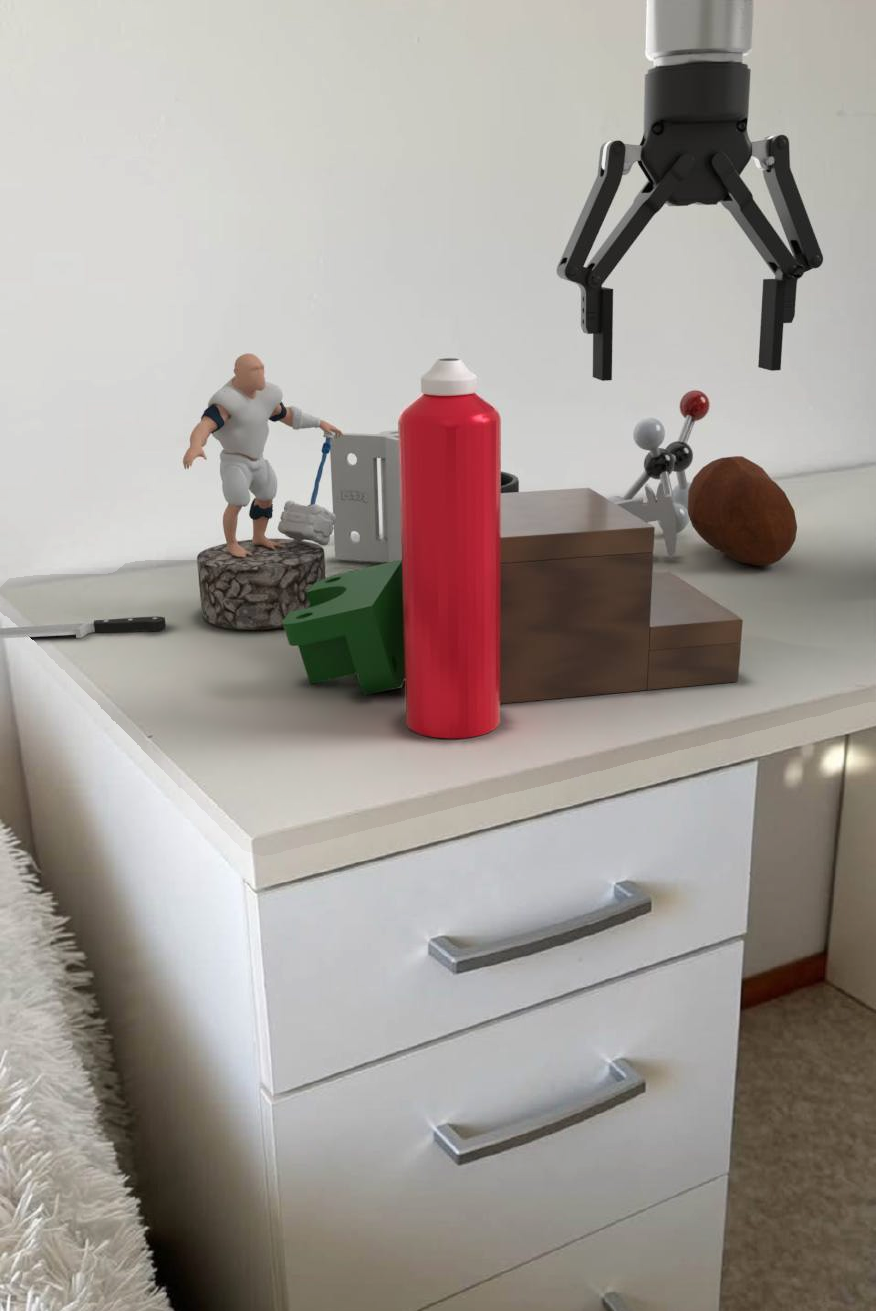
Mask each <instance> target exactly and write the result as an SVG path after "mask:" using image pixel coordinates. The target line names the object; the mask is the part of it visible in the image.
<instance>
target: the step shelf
mask: <svg viewBox="0 0 876 1311" xmlns="http://www.w3.org/2000/svg"><path fill="white" fill-rule="evenodd" d="M655 531H656V527H654V526H653V525H652V524H650V523H649V522H645V521H643V520H642V519H640V518H638V517H637V516H635V515H633V514H632V513H630V512H628V511H627V510H625V509H623V508H622V507H620V506H618V505H617V504H615V503H613V502H612V501H610V500H608V498H607V497H605V496H603V495H602V494H600V493H599V492H597V491H595V490H593V489H592V488H590V487H579V488H564V489H563V488H562V489H561V488H560V489H547V490H531V491H519V492H514V493H501V550H500V705H501V704H512V703H523V702H533V701H544V700H554V699H567V698H576V697H587V696H597V695H598V696H599V695H608V694H619V693H630V692H641V691H653V690H662V689H663V690H665V689H673V688H674V689H675V688H684V687H695V686H706V685H717V684H726V683H738V682H739V675H740V674H739V673H740V663H741V662H740V661H741V660H740V659H741V648H742V637H743V624H744V623H743V622H744V619H743V618H742V617H740V616H738V615H737V614H736V613H734V612H732V610H729V609H728V608H726V607H725V606H724V605H722V604H720V603H719V602H717V601H716V600H714V599H713V598H711V597H709V595H707V594H706V593H704V592H702V591H701V590H699V589H698V588H696V587H695V586H693V585H691V583H688V582H687V581H685V580H684V579H683V578H682V577H680V576H678V575H677V574H675V573H674V572H672V571H657V572H654V550H655V549H654V548H655V533H656V532H655Z"/></svg>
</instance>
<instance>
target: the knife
mask: <svg viewBox="0 0 876 1311" xmlns="http://www.w3.org/2000/svg"><path fill="white" fill-rule="evenodd" d="M166 628H167V624H166V617H165V616H155V615H154V616H137V617H124V618H123V617H122V618H110V619H109V618H108V619H93V620H84V621H83V622H79V623H78V622H77V623H62V624H47V625H30V626H29V625H28V626H16V627H0V639H12V638H13V639H14V638H37V637H56V636H75V637H76V639H82V638H84V636H86V635H87V634H91V633H119V632H120V633H125V632H139V631H149V632H150V631H151V632H158V631H159V632H160V631H162V630H165V629H166Z"/></svg>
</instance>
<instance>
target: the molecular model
mask: <svg viewBox="0 0 876 1311" xmlns="http://www.w3.org/2000/svg"><path fill="white" fill-rule="evenodd" d="M710 406H711V404H710V400H709V397H708V396H707V394H706V393H704V392H703V391H701V390H697V389H692V390H690V391H687V392H686V393H685V394H684V395H683V396H682V397H681V399H680V401H679V412H680V414H681V416H682V417H683V418H684V422H683V425H682V428H681V430H680V433H679V436H678V438H677V441H673V442H670V443H669V444H668V445H667V446H666V447H665V448H663V447H660V446H661V445H662V444H663V442H664V440H665V435H666V431H665V430H666V429H665V427H664V425H663V423H662V422H660V420H658V419H656V418H654V417H646V418H643V419H641V420H639V421H638V422H637V424H636V425H635V427H634V428H633V434H632V435H633V440H634V441H633V442H634V443H635V445H636V446H637V447H638V448H640V449H641V450H644V451H648V453H647V454H646V455H645V457H644V460H643V471H642V472H641V474H640V475H639V476H637V478H636V479H635V481H634V482H633V483H632V484H631V485H630V487H629V488H628V489H627V490H626V492H624V494H623V495H622V496H620V495H613V496H609V497H608V498H607V499H608V500H610V501H612V502H618V501H624V500H629V499H634V498H635V496H636V495H637V494H638V493H639V492H640V490H641V489H642V488H643V487H645V484H647V483H648V481H649V480H650V478H651V479H652V480H657V481H658V480H659V481H660V482H661V481H662V485H663V490H664V495H666V494H672V498H673V502H674V506H675V511H676V515H677V533H676V535H677V534H679V533H682V532H683V531H684V530H685V529H686V528H687V526H688V524H689V521H690V518H689V515H688V490H689V488H690V485H691V483H692V482H689V481H688V479H687V475H686V470H688V468H689V467H690V466H691V465H692V463H693V460H694V452H693V449H692V447H691V446H690V445H689V444H688V441H689V439H690V436H691V434H692V431H693V428H694V425H695V422H698V421H701V420H703V419H704V418H705V417H706V416H707V414H708V413H709V411H710ZM672 473H675V475H676V480H677V485H676V486H674V488H672V484H671V479H670V475H671V474H672ZM657 523H658V527H659V528H660V529H661V530H662V531H663V529H662V524H661V520H657Z"/></svg>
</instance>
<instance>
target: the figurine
mask: <svg viewBox="0 0 876 1311" xmlns="http://www.w3.org/2000/svg"><path fill="white" fill-rule="evenodd" d="M233 373H234V376H232V377H231V378H230V379H229V380H228V381H227V382H226V383H225V384H224V385H223V386H222V387H221V388H219V390H217V391H216V392H215V393H214V394H213V395H212V396H211V397H210V398H209V400H208V403H207V408H205V409H204V411H203V413H202V415H201V417H200V421H199V422H198V423H197V424H196V426H195V427H194V428H193V429H192V431H191V433H190V437H189V447H188V448H187V450H186V452H185V454H184V455H183V457H182V458H183V459H182V464H183V468H184V470H189V469H190V467H192V465H193V462H194V460H196V459H197V458H198V457H199V458H203V459H204V460H205V461H207V459H208V458H207V456H206V453H205V451H204V449H203V447H205V446H206V445H207V442H208V438H210V436H211V435H212V437H213V438H214V439H215V440H217V441H218V442H219V443H220V446H221V447H222V449H221V451H220V453H219V460H220V463H219V475H220V479H221V482H222V484H221V489H222V495H223V497H224V499H225V501H226V503H227V505H226V508H225V509H224V512H223V515H222V529H223V534H224V537H225V541H226V543H221V544H218V545H215V546H211V547H208V548H206V549H204V550H202V551H200V552H199V553H198V554H197V555H196V562H197V573H198V585H199V597H200V607H201V615H202V618H203V619H204V620H205V621H207V622H208V623H210V624H212V625H215V626H218V627H222V628H226V629H227V628H228V629H235V630H271V629H280V628H284V627H283V624H282V621H283V620H284V619H285V617H286V616H287V615H288V614H289V613H290V612H292V611H297V610H302V609H306V608H310V607H311V605H310V602H309V599H308V596H307V591H308V590H309V589H310V588H311V586H312V585H313V584H314V583H316V582H317V581H319V580H322V579H324V578H327V577H326V576H327V575H326V562H325V561H326V559H325V558H326V557H325V548H323V547H322V546H327V545H329V543H330V540H331V535H333V533H334V524H335V521H336V516H335V514H333V511H330V510H329V509H328V508H325V507H323V506H321V505H319V504H316V502H317V497H318V494H319V488H320V482H321V480H322V476H323V471H324V466H325V464H326V460H327V456H328V454H330V448H331V444H330V440H332V439H333V437H334V433H335V434H336V439H337V437H338V435H339V438H341V435H342V436H343V434H342V433H343V431H341V430H340V429H339V428H337V427H336V426H334V425H333V424H331V423H329V422H327V421H325V420H323V419H321V418H320V417H315V416H313V415H312V414H309V413H307V412H305V411H303V410H302V409H301V408H299V407H297V406H294V405H290V406H285V404H284V402H283V401H282V400H283V396H284V395H283V391H282V389H281V388H280V387H279V386H278V385H276V384H275V383H273V382H269V381H266V376H265V365H264V363H263V362H262V361H261V359H260V358H259V357H258V356H257V355H255V354H253V353H249V352H248V353H243V354H241V355H239V356H238V357H237V358H236V360H235V362H234V368H233ZM269 421H270V422H273V423H277V422H280V423H282V424H284V425H286V426H288V427H289V428H290V427H291V428H292V430H296V431H298V430H300V429H301V430H303V429H311V428H315V429H321V430H322V431H323V435H322V437H323V438H325V442H323V444H322V447H321V453H322V455H321V460H320V463H319V465H318V469H317V473H316V477H315V480H314V487H313V490H312V493H311V498H310V504H307V505H305V504H304V505H303V504H300V503H296V502H295V501H294V500H287V501H286V502H285V503H284V507H283V511H282V512H281V514H280V518H279V519H280V521H278V525H277V530H278V532H279V533H281V534H282V535H285V537H287V538H268V537H267V536H265V534H266V532H267V528H268V523H269V520H271V519H272V518H273V512H274V509H273V508H274V504H273V502H274V501H273V500H274V499H275V498H276V496H277V491H278V478H277V475H276V472H275V470H274V469H273V466H272V465H271V462H270V461H269V460H268V459H265V458H264V451H265V446H266V443H267V440H268V438H269V432H270V426H269V424H268V422H269ZM251 494H252V495H253V496H254V498H253V500H252V502H251ZM250 502H251V504H250ZM249 504H250V507H249V511H248V516H249V518H250V519H251V520H252V534H253V535H252V538H251V539H243V540H237V537H236V535H237V527H238V517H239V513H240V512H241V510H242V508H243V507H248V505H249Z"/></svg>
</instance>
